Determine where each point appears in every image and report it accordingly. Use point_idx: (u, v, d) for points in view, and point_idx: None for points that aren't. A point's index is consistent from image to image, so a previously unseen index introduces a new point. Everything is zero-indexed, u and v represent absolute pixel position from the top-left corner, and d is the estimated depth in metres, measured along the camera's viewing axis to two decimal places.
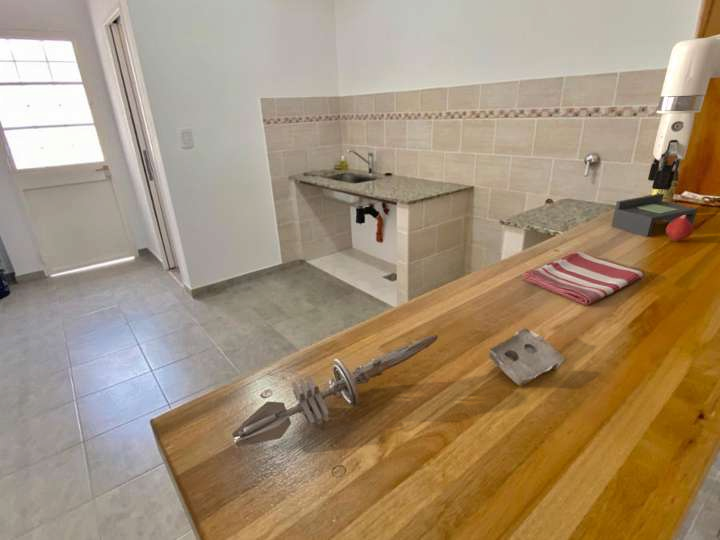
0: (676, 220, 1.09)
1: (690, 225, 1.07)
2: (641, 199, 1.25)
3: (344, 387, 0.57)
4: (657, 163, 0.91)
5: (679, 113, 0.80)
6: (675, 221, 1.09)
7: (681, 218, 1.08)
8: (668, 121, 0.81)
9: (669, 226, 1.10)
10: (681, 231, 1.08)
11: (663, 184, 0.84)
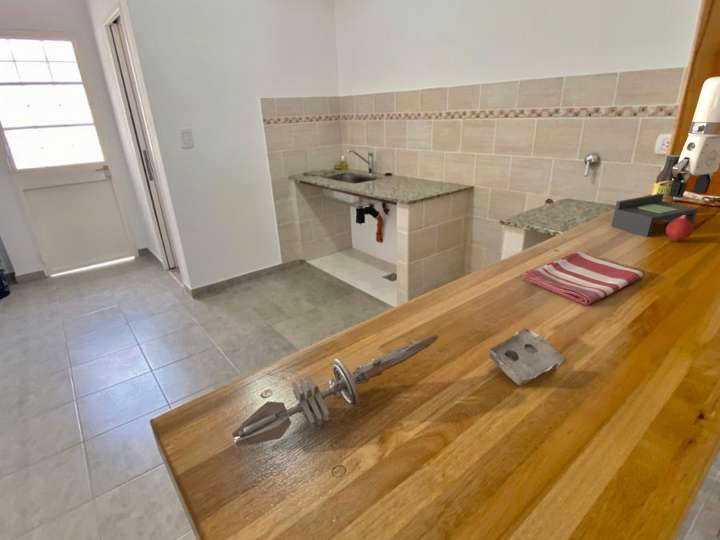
0: (676, 220, 1.09)
1: (690, 225, 1.07)
2: (641, 199, 1.25)
3: (344, 387, 0.57)
4: (701, 177, 1.06)
5: (695, 136, 0.98)
6: (675, 221, 1.09)
7: (681, 218, 1.08)
8: (686, 142, 1.00)
9: (669, 226, 1.10)
10: (681, 231, 1.08)
11: (674, 192, 1.03)
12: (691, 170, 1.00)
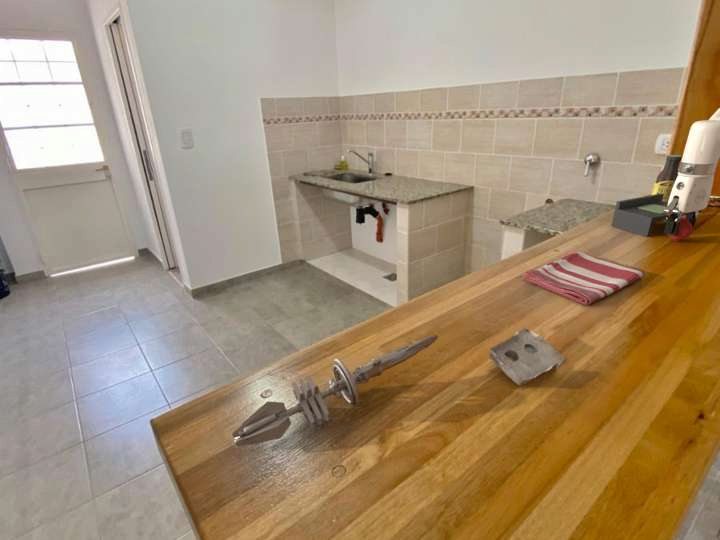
0: None
1: (690, 225, 1.07)
2: (641, 199, 1.25)
3: (344, 387, 0.57)
4: (687, 216, 1.10)
5: (684, 176, 1.03)
6: None
7: (681, 218, 1.08)
8: (675, 181, 1.04)
9: None
10: (681, 231, 1.08)
11: (669, 230, 1.09)
12: (681, 208, 1.04)
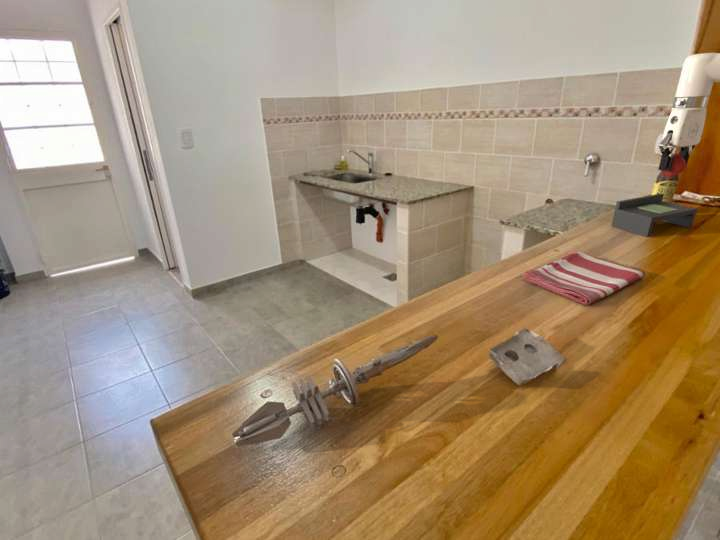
0: None
1: (683, 160, 1.11)
2: (641, 199, 1.25)
3: (344, 387, 0.57)
4: (680, 153, 1.14)
5: (677, 110, 1.06)
6: None
7: (675, 154, 1.12)
8: (669, 116, 1.08)
9: None
10: (674, 166, 1.11)
11: (663, 166, 1.12)
12: (675, 142, 1.07)
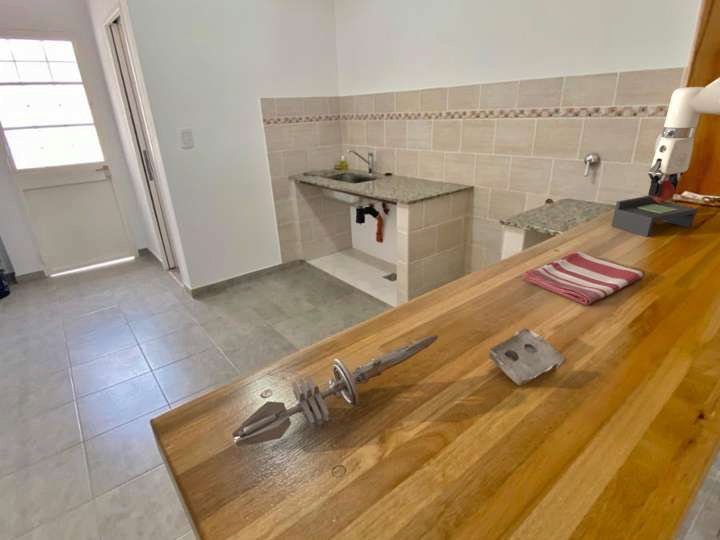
0: None
1: (672, 187, 1.16)
2: (641, 199, 1.25)
3: (344, 387, 0.57)
4: (669, 179, 1.19)
5: (666, 139, 1.11)
6: None
7: (664, 180, 1.17)
8: (658, 145, 1.13)
9: None
10: (663, 192, 1.16)
11: (653, 192, 1.17)
12: (663, 170, 1.13)
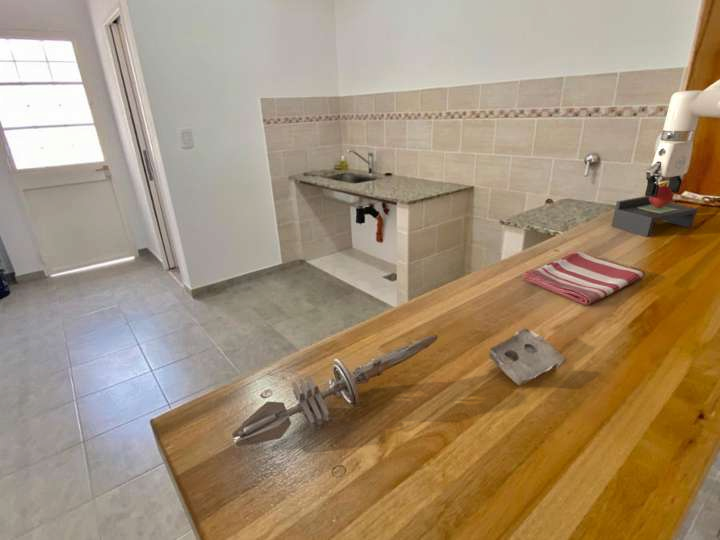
0: None
1: (670, 192, 1.17)
2: (641, 199, 1.25)
3: (344, 387, 0.57)
4: (673, 179, 1.19)
5: (665, 143, 1.12)
6: None
7: (662, 186, 1.18)
8: (658, 148, 1.13)
9: None
10: (662, 198, 1.17)
11: (649, 192, 1.17)
12: (663, 173, 1.13)
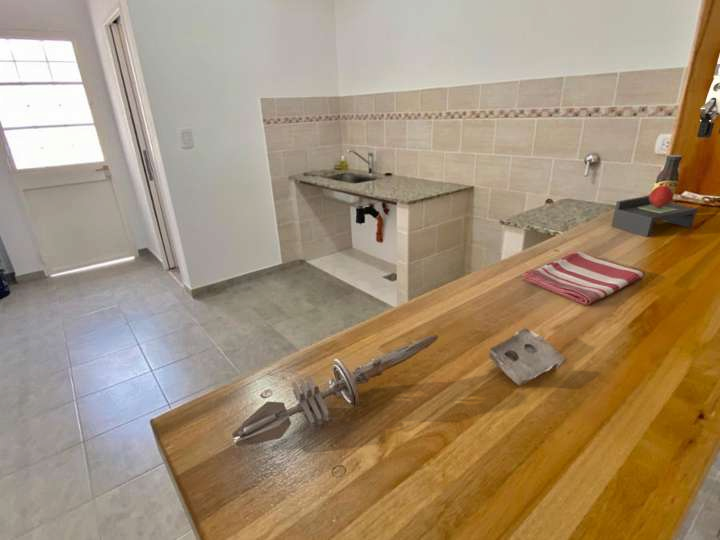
0: (658, 188, 1.18)
1: (670, 192, 1.17)
2: (641, 199, 1.25)
3: (344, 387, 0.57)
4: None
5: None
6: (657, 188, 1.18)
7: (662, 186, 1.18)
8: (712, 83, 1.07)
9: (651, 194, 1.19)
10: (662, 198, 1.17)
11: (703, 133, 1.10)
12: (718, 109, 1.06)
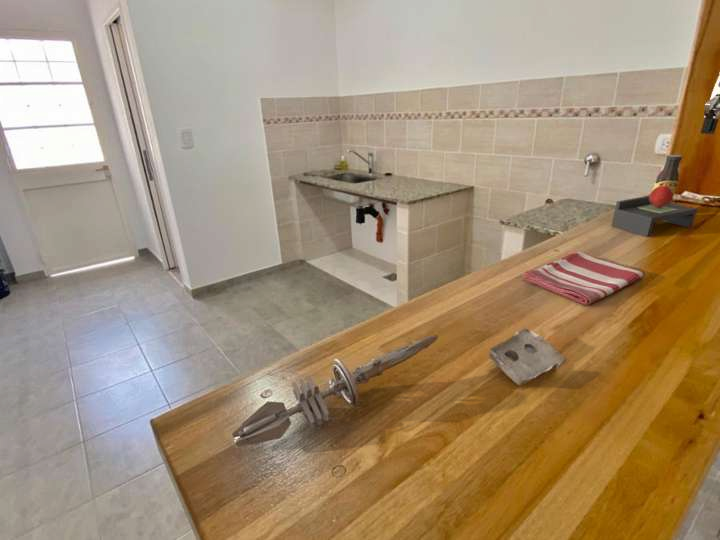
0: (658, 188, 1.18)
1: (670, 192, 1.17)
2: (641, 199, 1.25)
3: (344, 387, 0.57)
4: None
5: None
6: (657, 188, 1.18)
7: (662, 186, 1.18)
8: (717, 80, 1.07)
9: (651, 194, 1.19)
10: (662, 198, 1.17)
11: (706, 129, 1.10)
12: None
